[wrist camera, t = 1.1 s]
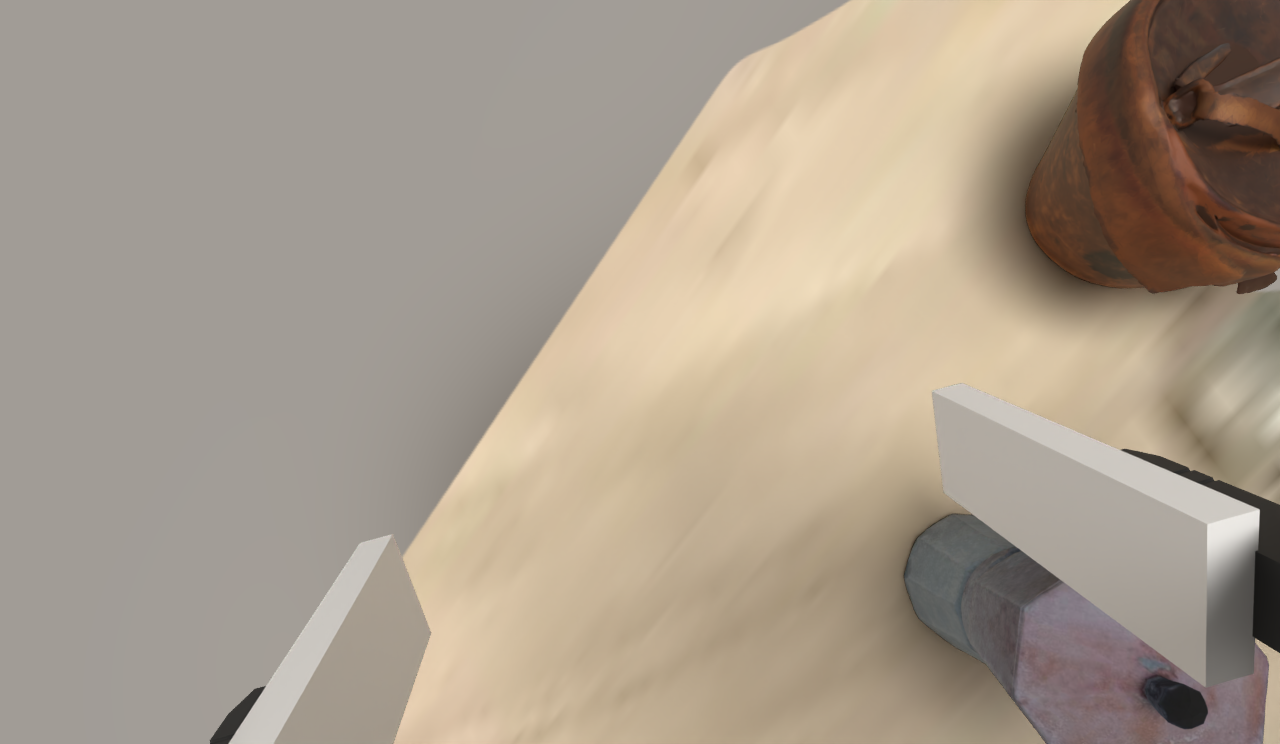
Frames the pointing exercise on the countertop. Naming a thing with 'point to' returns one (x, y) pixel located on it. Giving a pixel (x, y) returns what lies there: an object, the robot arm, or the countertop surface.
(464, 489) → the countertop surface
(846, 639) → the countertop surface
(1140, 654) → the moka pot
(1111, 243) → the case
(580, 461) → the countertop surface
